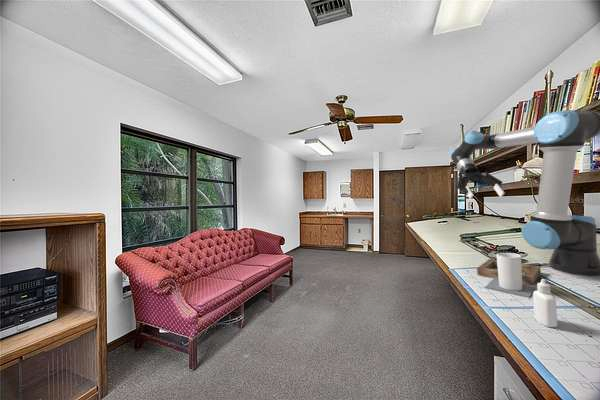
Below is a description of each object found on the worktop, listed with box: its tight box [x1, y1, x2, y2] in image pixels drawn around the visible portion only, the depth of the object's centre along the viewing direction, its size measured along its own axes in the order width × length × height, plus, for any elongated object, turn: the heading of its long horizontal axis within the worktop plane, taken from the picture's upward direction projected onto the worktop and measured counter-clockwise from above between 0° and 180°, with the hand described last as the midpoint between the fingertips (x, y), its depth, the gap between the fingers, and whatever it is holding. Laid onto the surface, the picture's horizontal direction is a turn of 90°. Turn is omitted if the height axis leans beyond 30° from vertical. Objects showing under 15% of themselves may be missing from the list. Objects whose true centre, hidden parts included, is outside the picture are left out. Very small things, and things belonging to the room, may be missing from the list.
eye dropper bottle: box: [532, 278, 558, 328], centre depth 64 cm, size 4×6×12 cm
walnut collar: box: [476, 258, 542, 286], centre depth 98 cm, size 17×17×3 cm
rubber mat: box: [484, 278, 537, 299], centre depth 86 cm, size 12×12×1 cm
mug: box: [496, 252, 523, 291], centre depth 86 cm, size 10×7×12 cm, turn 129°
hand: (487, 196), depth 113 cm, fingers open, 13 cm apart
